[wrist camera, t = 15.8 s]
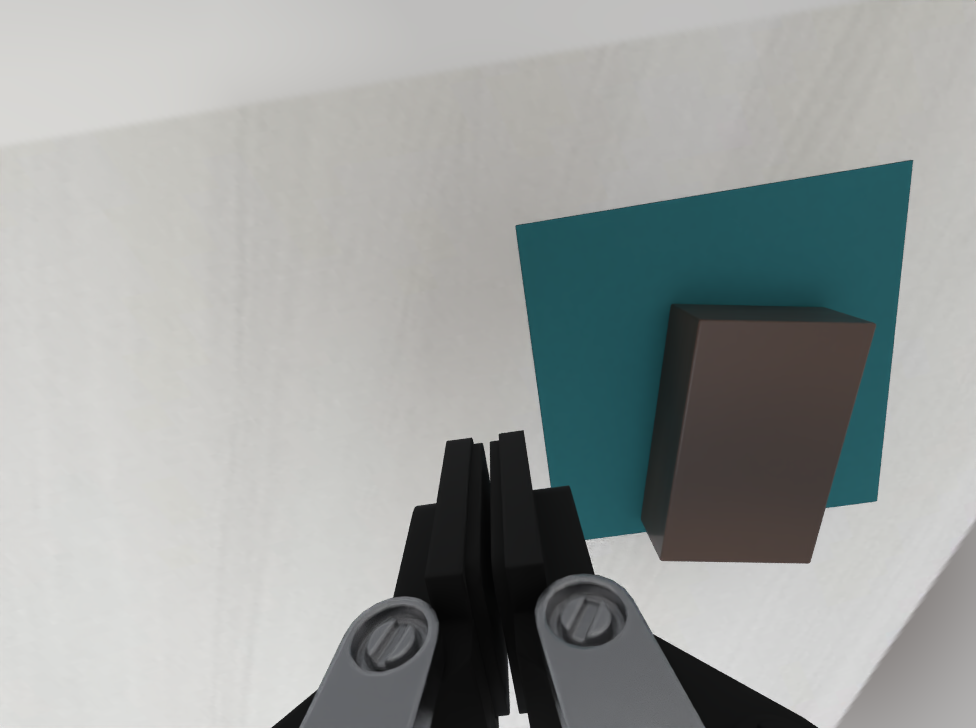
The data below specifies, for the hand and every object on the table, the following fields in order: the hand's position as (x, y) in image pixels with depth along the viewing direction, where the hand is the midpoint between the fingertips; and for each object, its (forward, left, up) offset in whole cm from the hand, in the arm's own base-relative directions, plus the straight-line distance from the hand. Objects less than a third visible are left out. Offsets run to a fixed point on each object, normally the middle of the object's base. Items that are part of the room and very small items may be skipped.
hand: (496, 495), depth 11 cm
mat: (-3, +8, -8) cm, 11 cm away
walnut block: (-2, +9, -8) cm, 12 cm away
